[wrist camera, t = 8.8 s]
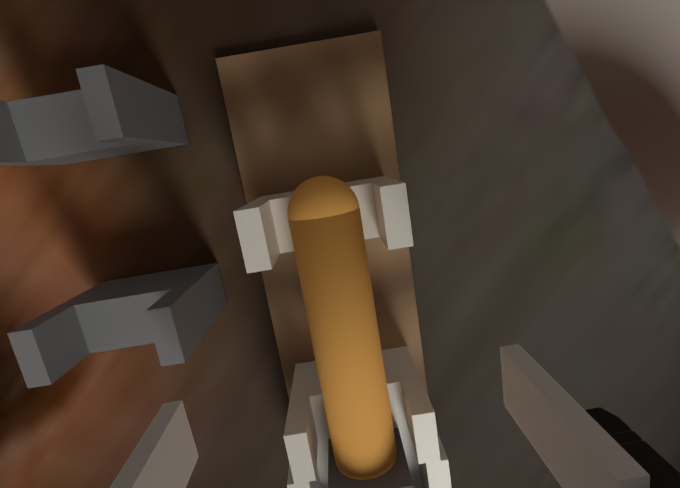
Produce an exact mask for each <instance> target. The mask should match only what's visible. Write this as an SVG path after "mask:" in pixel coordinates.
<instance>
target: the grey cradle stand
mask: <svg viewBox="0 0 680 488" xmlns="http://www.w3.org/2000/svg"><path fill="white" fill-rule="evenodd" d="M76 73H77V76H78V80H79V83H80V86H81V89H80V90H74V91H68V92H62V93H57V94H51V95H45V96H39V97H33V98H27V99H22V100H16V101H10V102H4V101H0V166H24V165H68V164H74V163H80V162H86V161H91V160H97V159H103V158H109V157H115V156H121V155H127V154H133V153H139V152H145V151H151V150H157V149H162V148H168V147H174V146H180V145H186V144H189V141H188V137H187V133H186V129H185V125H184V121H183V116H182V112H181V108H180V104H179V100H178V96H177V95H176V94H173V93H171V92H168V91H166V90H164V89H161V88H159V87H157V86H154V85H152V84H149V83H147V82H145V81H142V80H140V79H137V78H135V77H133V76H130V75H128V74H125V73H123V72H121V71H118V70H116V69H114V68H111V67H109V66H106V65H104V64H102V65H96V66H90V67H84V68H78V69H76ZM226 305H227V300H226V296H225V292H224V288H223V283H222V279H221V275H220V271H219V267H218V263H213V264H207V265H201V266H195V267H188V268H182V269H176V270H170V271H164V272H158V273H152V274H146V275H140V276H134V277H128V278H122V279H116V280H110V281H104V282H102V283H100V284H98V285H96V286H94V287H92V288H91V289H89V290H87V291H85V292H83V293H81V294H79V295H78V296H76V297H74V298H72V299H70V300H68V301H66V302H65V303H63V304H61V305H59V306H57V307H55V308H53V309H52V310H50V311H48V312H46V313H44V314H42V315H40V316H39V317H37V318H35V319H33V320H31V321H29V322H27V323H26V324H24V325H22V326H20V327H18V328H16V329H15V330H13V331H11V332H9V333H7V334H8V337H9V339H10V342H11V345H12V347H13V350H14V353H15V355H16V358H17V361H18V363H19V366H20V369H21V371H22V374H23V377H24V379H25V382H26V385H27V387H28V388H33V387H39V386H45V385H51V384H53V383H54V382H55V381H56V380H57V379H59V378H60V377H61V376H62V375H64V374H65V373H66V372H67V371H69V370H70V369H71V368H72V367H74V366H75V365H76V364H77V363H79V362H80V361H81V360H82V359H83V358H85V357H86V356H87V355H88V354H90V353H95V352H102V351H108V350H114V349H120V348H126V347H132V346H138V345H144V344H150V343H155V346H156V350H157V353H158V357H159V360H160V364H161V367H162V366H168V365H174V364H180V363H185V362H186V361H187V359H188V358H189V356H190V355H191V354H192V352H193V351H194V349H195V348H196V347H197V345H198V344H199V342H200V341H201V340H202V338H203V337H204V335H205V334H206V333H207V331H208V330H209V328H210V327H211V326H212V324H213V323H214V321H215V320H216V319H217V317H218V316H219V314H220V313H221V312H222V310H223V309H224V307H225V306H226Z"/></svg>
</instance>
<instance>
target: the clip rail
mask: <svg viewBox="0 0 680 488" xmlns="http://www.w3.org/2000/svg"><path fill="white" fill-rule="evenodd" d="M215 59H216V64H217V68H218V73H219V78H220V82H221V87H222V92H223V96H224V101H225V105H226V110H227V115H228V119H229V124H230V129H231V133H232V138H233V143H234V147H235V152H236V156H237V161H238V166H239V170H240V175H241V180H242V184H243V189H244V194H245V198H246V203H247V204H248V203H250V202H252V201H254V200H255V199H257V198H259V197H261V196H267V195H273V194H279V193H285V192H291V191H294V190H295V189H296V188H297V187H298V186H299V185H300V184H301V183H303V182H304V181H306V180H308V179H310V178H313V177H316V176H331V177H334V178H337V179H339V180H341V181H343V182H351V181H357V180H363V179H369V178H375V177H381V176H386V177H389V178H392V179H395V180H398V181H400V176H399V168H398V160H397V152H396V145H395V137H394V129H393V121H392V114H391V106H390V98H389V91H388V83H387V75H386V67H385V60H384V52H383V44H382V36H381V30H379V31H373V32H367V33H361V34H355V35H350V36H344V37H338V38H332V39H326V40H320V41H314V42H309V43H303V44H297V45H291V46H285V47H279V48H274V49H268V50H262V51H256V52H250V53H244V54H239V55H233V56H227V57H221V58H215ZM365 246H366V252H367V259H368V265H369V272H370V278H371V285H372V291H373V298H374V304H375V311H376V317H377V324H378V330H379V337H380V343H381V350H385V349H391V348H398V347H404V346H407V347H408V349H409V351H410V354H411V356H412V359H413V361H414V364H415V366H416V368H417V371H418V373H419V376H420V378H421V380H422V383H423V385H424V388H425V390H426V393H427V395H428V392H427V384H426V377H425V369H424V361H423V353H422V346H421V338H420V330H419V322H418V315H417V307H416V299H415V292H414V284H413V276H412V268H411V261H410V253H409V247H404V248H398V249H392V250H388V249H387V247H386V246H385V244H384V242H383V241H382V239H381V238H380V237H377V238H371V239H365ZM261 272H262V277H263V282H264V286H265V291H266V296H267V300H268V305H269V309H270V314H271V319H272V323H273V328H274V333H275V337H276V342H277V347H278V351H279V356H280V360H281V365H282V370H283V374H284V379H285V384H286V388H287V393H288V398H289V401H290V395H291V389H292V383H293V377H294V371H295V365H296V364H299V363H305V362H311V361H315V356H314V350H313V345H312V340H311V335H310V330H309V325H308V320H307V315H306V309H305V304H304V299H303V294H302V289H301V284H300V279H299V273H298V268H297V263H296V258H295V253H294V251H292V252H286V253H280V255H279V257H278V259H277V261H276V263H275V264H274V266H273V268H272V269H271V270H265V271H261Z"/></svg>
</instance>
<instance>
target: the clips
mask: <svg viewBox="0 0 680 488" xmlns="http://www.w3.org/2000/svg"><path fill="white" fill-rule="evenodd" d="M345 183H346V184H347V185H348V186H349V187H350V188H351V189H352V190H353V192H354V193H355V195H356V197H357V199H358V203H359V207H360V213H361V220H362V226H363V233H364V239H371V238H377V237H380V238H381V239H382V241H383V242H384V244H385V246H386V247H387V249H388V250H392V249H398V248H404V247H411V246H413V238H412V230H411V222H410V214H409V206H408V199H407V191H406V183H405V182H401V181H398V180H395V179H392V178H389V177H386V176H381V177H375V178H369V179H363V180H357V181H351V182H345ZM293 192H294V191H291V192H285V193H279V194H273V195H267V196H261V197H259V198H257V199H255V200H254V201H252V202H250V203H248V204H246V205H244V206H242V207H241V208H239V209H237V210H235V211H233V213H234V218H235V222H236V227H237V231H238V236H239V240H240V244H241V249H242V253H243V258H244V262H245V267H246V271H247V273H253V272H259V271H265V270H271V269H272V268H273V266H274V264H275V263H276V261H277V259H278V257H279V255H280V253H286V252H292V251H294V248H293V243H292V237H291V232H290V227H289V222H288V213H287V211H288V203H289V200H290V197H291V195H292V194H293ZM382 356H383V363H384V369H385V376H386V382H387V389H388V395H389V402H390V408H391V415H392V421H393V428H399V432H400V436H401V440H402V444H403V448H404V452H405V456H406V460H407V463H408V467H409V471H410V475H411V479H412V483H413V488H451V480H450V472H449V463H448V458H447V456H446V453H445V450H444V448H443V445H442V443H441V440H440V438H439V435H438V433H437V428H436V420H435V412H434V410H433V407H432V405H431V402H430V400H429V397H428V395H427V393H426V390H425V388H424V385H423V383H422V380H421V378H420V376H419V373H418V371H417V368H416V366H415V364H414V361H413V359H412V356H411V354H410V351H409V349H408V347H407V346H404V347H398V348H391V349H385V350H382ZM328 439H331V438H330V433H329V428H328V422H327V417H326V412H325V407H324V402H323V397H322V392H321V386H320V381H319V376H318V371H317V366H316V361H311V362H305V363H299V364H296V365H295V371H294V377H293V383H292V389H291V395H290V401H289V407H288V412H287V418H286V424H285V430H284V441H285V445H286V450H287V454H288V459H289V463H290V465H289V473H288V481H287V488H328Z"/></svg>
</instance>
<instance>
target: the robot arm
mask: <svg viewBox="0 0 680 488" xmlns="http://www.w3.org/2000/svg"><path fill="white" fill-rule="evenodd" d="M500 356H501V370H502V384H503V397H504V406H505V407H506V409H507V410H508V412H509V413H510V414H511V416H512V417H513V419H514V420H515V422H516V423H517V424H518V426H519V427H520V429H521V430H522V432H523V433H524V434H525V436H526V437H527V439H528V440H529V441H530V443H531V444H532V446H533V447H534V449H535V450H536V451H537V453H538V454H539V456H540V457H541V458H542V460H543V461H544V463H545V464H546V466H547V467H548V468H549V470H550V471H551V473H552V474H553V476H554V477H555V478H556V480H557V481H558V483H559V484H560V485H561V487H562V488H680V473H679V472H678V471H677V470H676V469H675V468H673V467H672V466H671V465H670V464H669V463H668V462H667V461H666V460H665V459H664V458H662V457H661V456H660V455H659V454H658V453H657V452H656V451H655V450H654V449H653V448H651V447H650V446H649V445H648V444H647V443H646V442H645V441H642V438H640V437H639V436H638V435H637V434H636V433H635V432H634V431H631V428H629V427H628V426H627V425H626V424H625V423H624V422H623V421H622V420H621V419H619V418H618V417H617V416H615V415H613V414H611V413H610V412H608V411H606V410H604V409H602V408H594V409H588V410H584V409H583V408H582V407H581V406H580V405H579V404H578V403H577V402H576V401H575V400H574V399H573V398H572V397H571V396H570V395H569V394H568V393H567V392H566V391H565V390H564V389H563V388H562V387H561V386H560V385H559V384H558V383H557V382H556V381H555V380H554V379H553V378H552V377H551V376H550V375H549V374H548V373H547V372H546V371H545V370H544V369H543V368H542V367H541V366H540V365H539V364H538V363H537V362H536V361H535V360H534V359H533V358H532V357H531V356H530V355H529V354H528V353H527V352H526V351H525V350H524V349H523V348H522V347H521V346H520V345H519V344H515V345H509V346H503V347H500ZM198 457H199V456H198V453H197V449H196V446H195V442H194V439H193V436H192V432H191V429H190V425H189V422H188V419H187V415H186V412H185V409H184V405H183V402H182V400H180V401H174V402H168V403H163V405H162V406H161V408H160V410H159V411H158V413H157V414H156V416H155V417H154V419H153V421H152V422H151V424H150V425H149V427H148V428H147V430H146V431H145V433H144V435H143V436H142V438H141V439H140V441H139V442H138V444H137V446H136V447H135V449H134V450H133V452H132V453H131V455H130V456H129V458H128V460H127V461H126V463H125V464H124V466H123V467H122V469H121V471H120V472H119V474H118V475H117V477H116V478H115V480H114V482H113V483H112V485H111V486H110V488H186V486H187V483H188V481H189V479H190V476H191V474H192V471H193V469H194V467H195V464H196V462H197V459H198Z"/></svg>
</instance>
